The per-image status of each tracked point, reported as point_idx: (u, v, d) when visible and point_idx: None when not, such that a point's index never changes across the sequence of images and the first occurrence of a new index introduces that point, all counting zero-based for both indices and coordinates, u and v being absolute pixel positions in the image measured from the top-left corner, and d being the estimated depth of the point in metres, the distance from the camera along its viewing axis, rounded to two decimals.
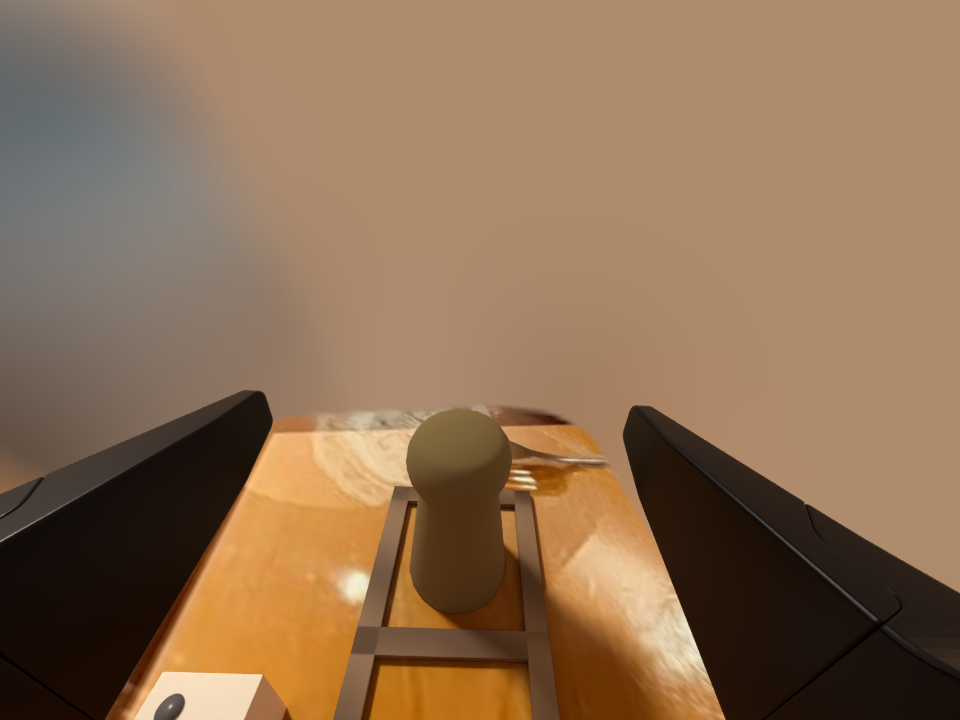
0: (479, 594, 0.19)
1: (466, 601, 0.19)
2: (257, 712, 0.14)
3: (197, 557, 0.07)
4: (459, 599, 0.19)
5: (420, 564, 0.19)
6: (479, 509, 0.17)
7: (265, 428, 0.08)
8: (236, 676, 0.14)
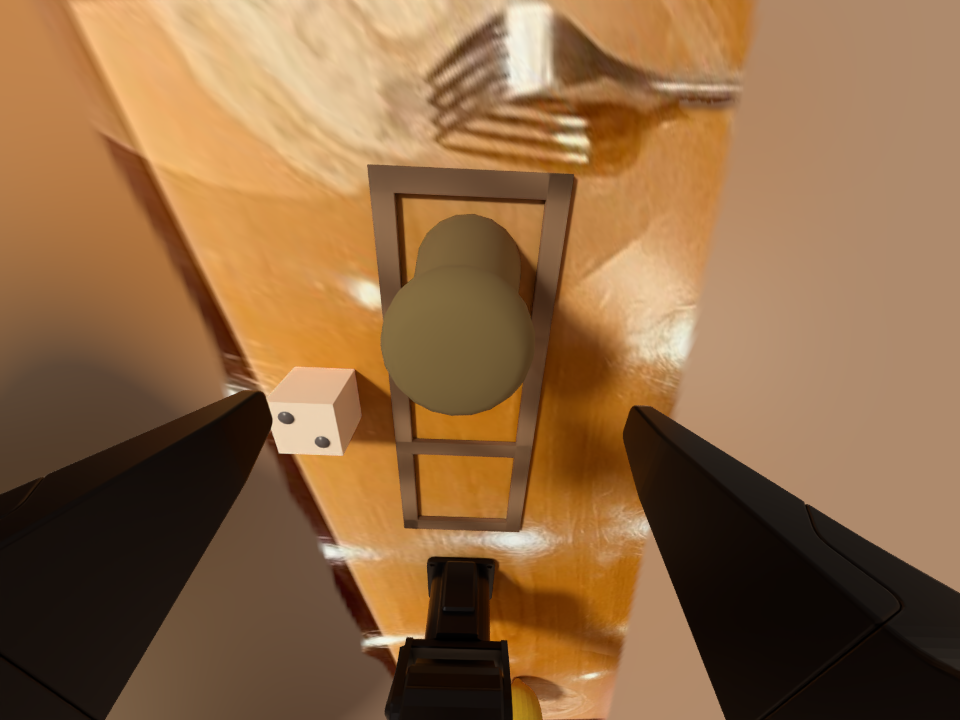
0: None
1: None
2: (341, 406, 0.21)
3: (197, 557, 0.07)
4: None
5: None
6: None
7: (265, 428, 0.08)
8: (315, 405, 0.20)
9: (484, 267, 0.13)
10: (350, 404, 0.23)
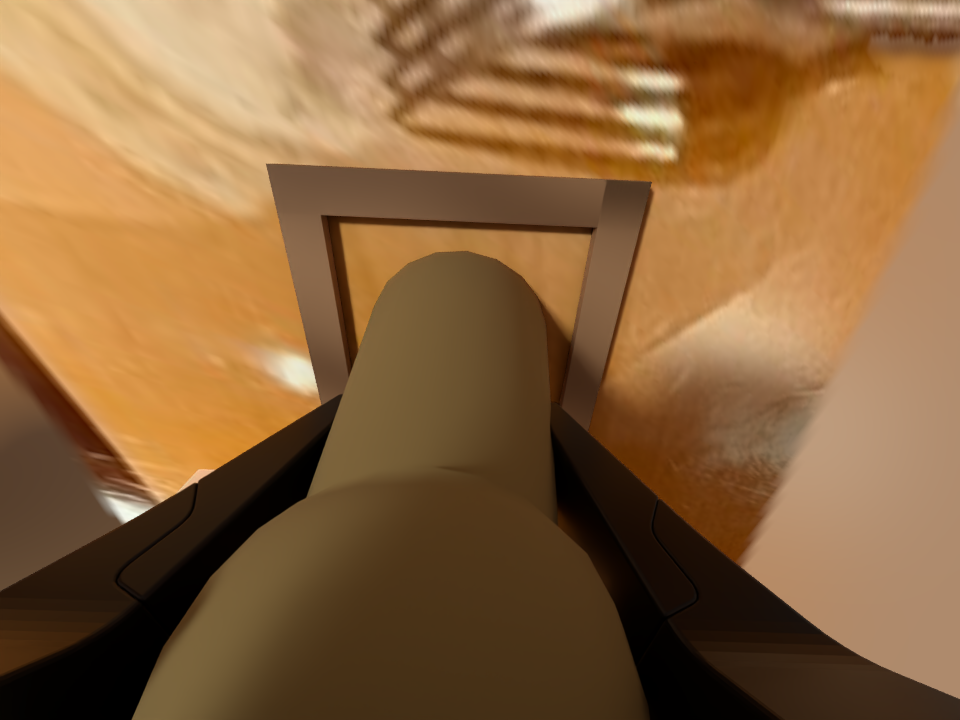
0: None
1: None
2: None
3: None
4: None
5: None
6: None
7: None
8: None
9: (485, 428, 0.05)
10: None
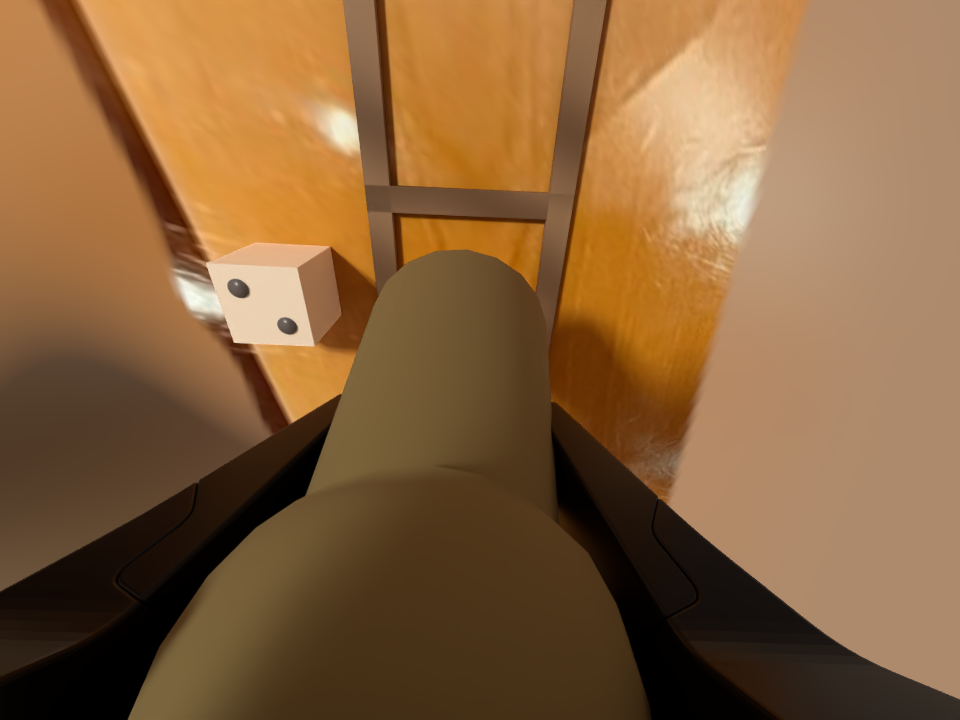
0: None
1: None
2: (310, 280, 0.17)
3: None
4: None
5: None
6: None
7: None
8: (274, 268, 0.15)
9: (485, 426, 0.05)
10: (324, 287, 0.18)
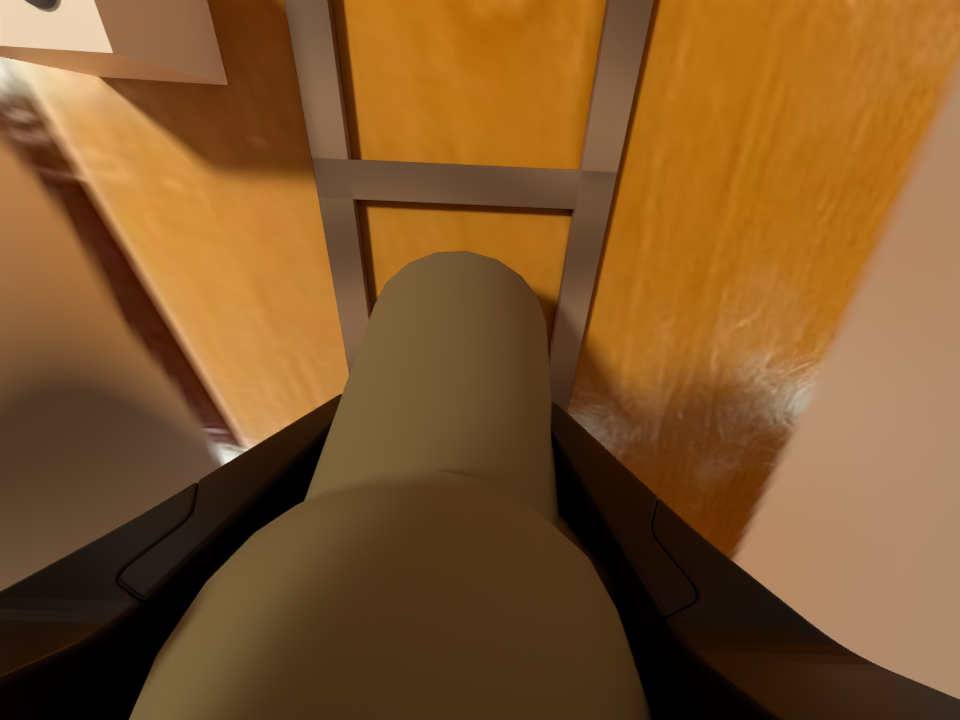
0: None
1: None
2: None
3: None
4: None
5: None
6: None
7: None
8: None
9: (485, 430, 0.05)
10: None
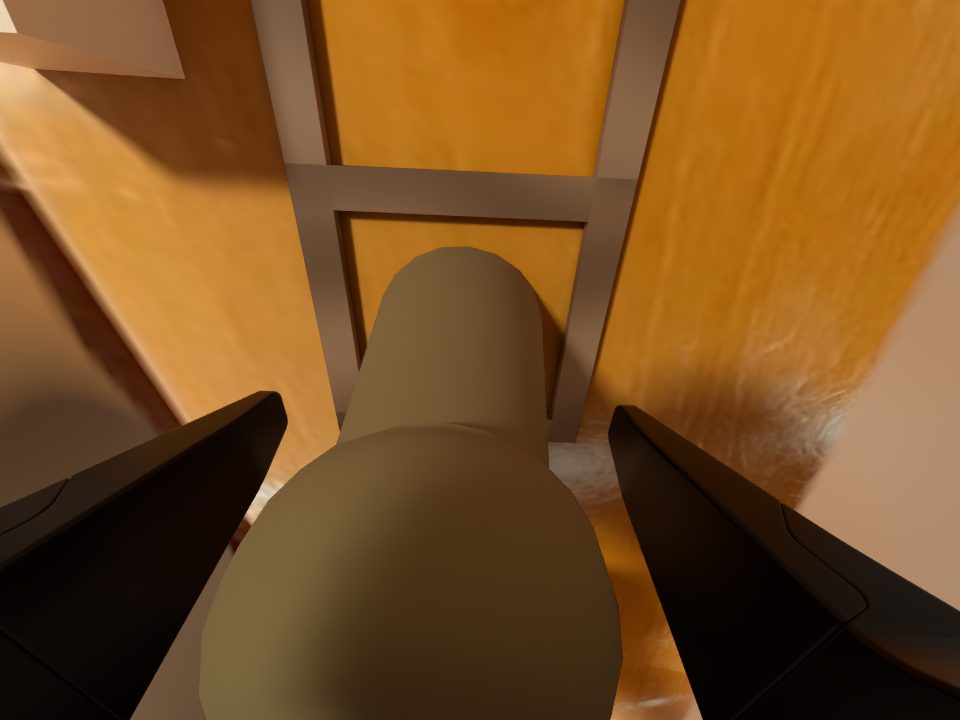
0: None
1: None
2: None
3: (217, 558, 0.07)
4: None
5: None
6: None
7: (281, 429, 0.08)
8: None
9: (487, 394, 0.06)
10: None
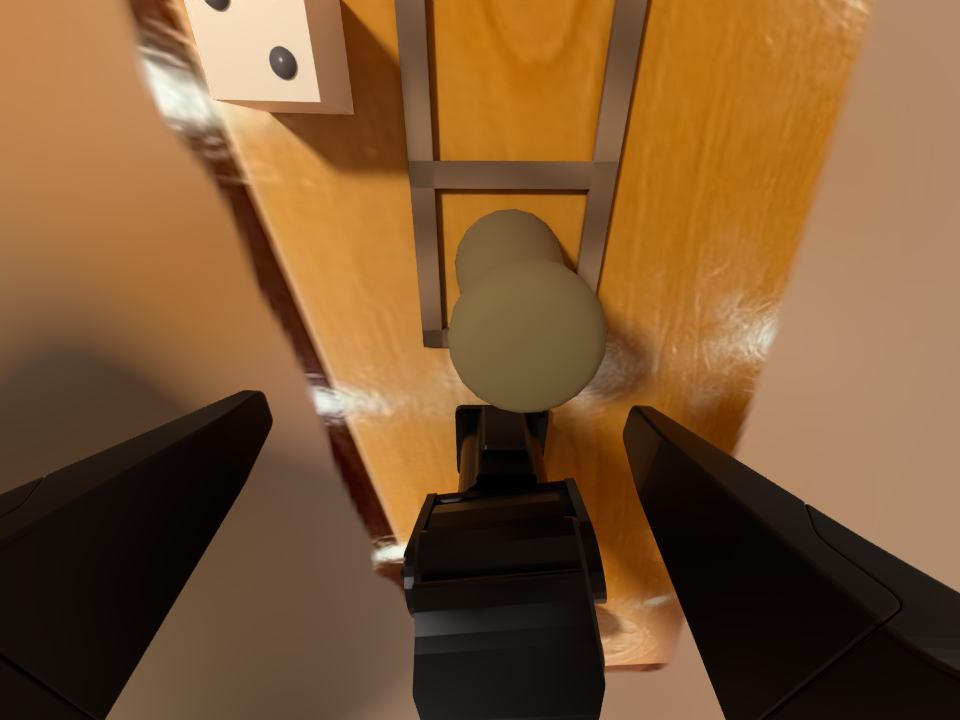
0: None
1: None
2: None
3: (197, 557, 0.07)
4: None
5: None
6: None
7: (265, 428, 0.08)
8: None
9: None
10: (332, 39, 0.14)
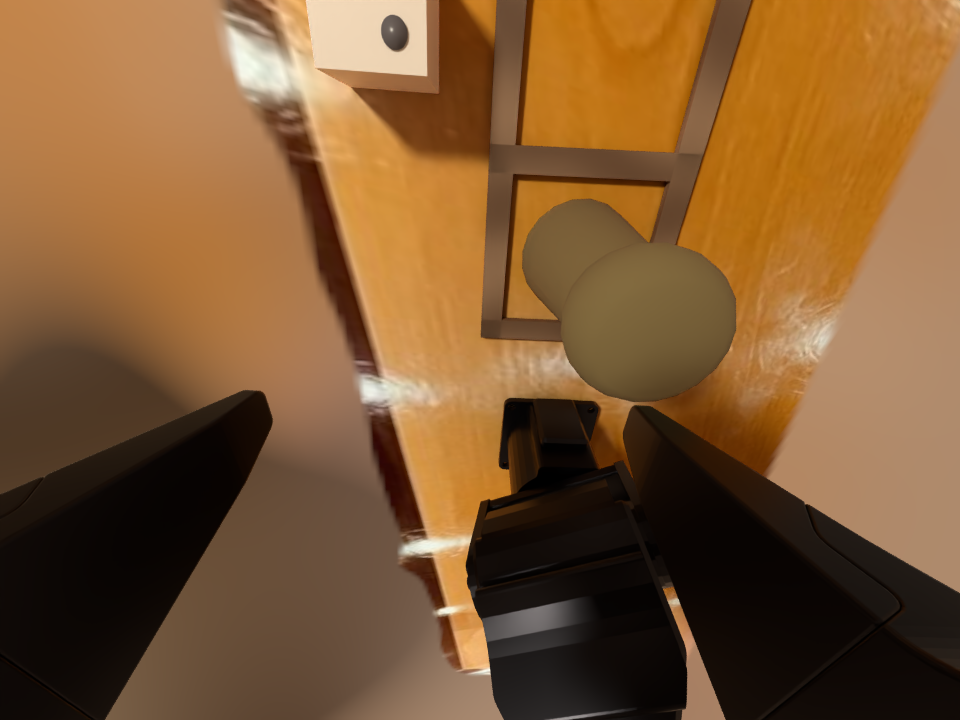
0: None
1: None
2: None
3: (197, 557, 0.07)
4: None
5: (543, 303, 0.18)
6: None
7: (265, 428, 0.08)
8: None
9: None
10: (434, 12, 0.13)
